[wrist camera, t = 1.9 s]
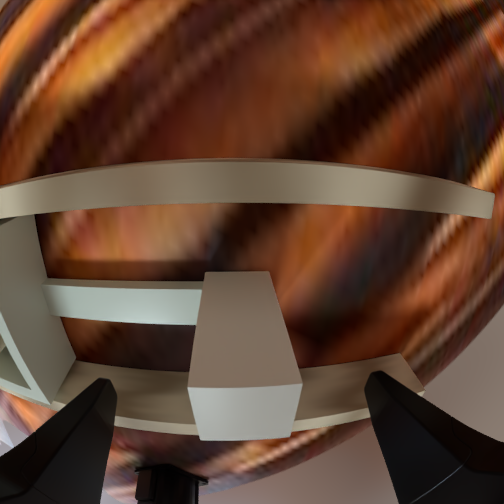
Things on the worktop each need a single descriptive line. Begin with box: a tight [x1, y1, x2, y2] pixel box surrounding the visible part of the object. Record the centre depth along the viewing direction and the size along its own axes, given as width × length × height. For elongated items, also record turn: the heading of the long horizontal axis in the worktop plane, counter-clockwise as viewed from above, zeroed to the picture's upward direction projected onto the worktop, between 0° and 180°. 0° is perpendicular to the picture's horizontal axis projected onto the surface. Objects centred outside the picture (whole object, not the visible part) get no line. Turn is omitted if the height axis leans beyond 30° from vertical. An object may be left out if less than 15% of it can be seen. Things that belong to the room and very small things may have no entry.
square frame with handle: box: [0, 214, 303, 441], centre depth 9 cm, size 22×10×7 cm, turn 89°
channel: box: [0, 158, 495, 435], centre depth 9 cm, size 36×13×9 cm, turn 89°
